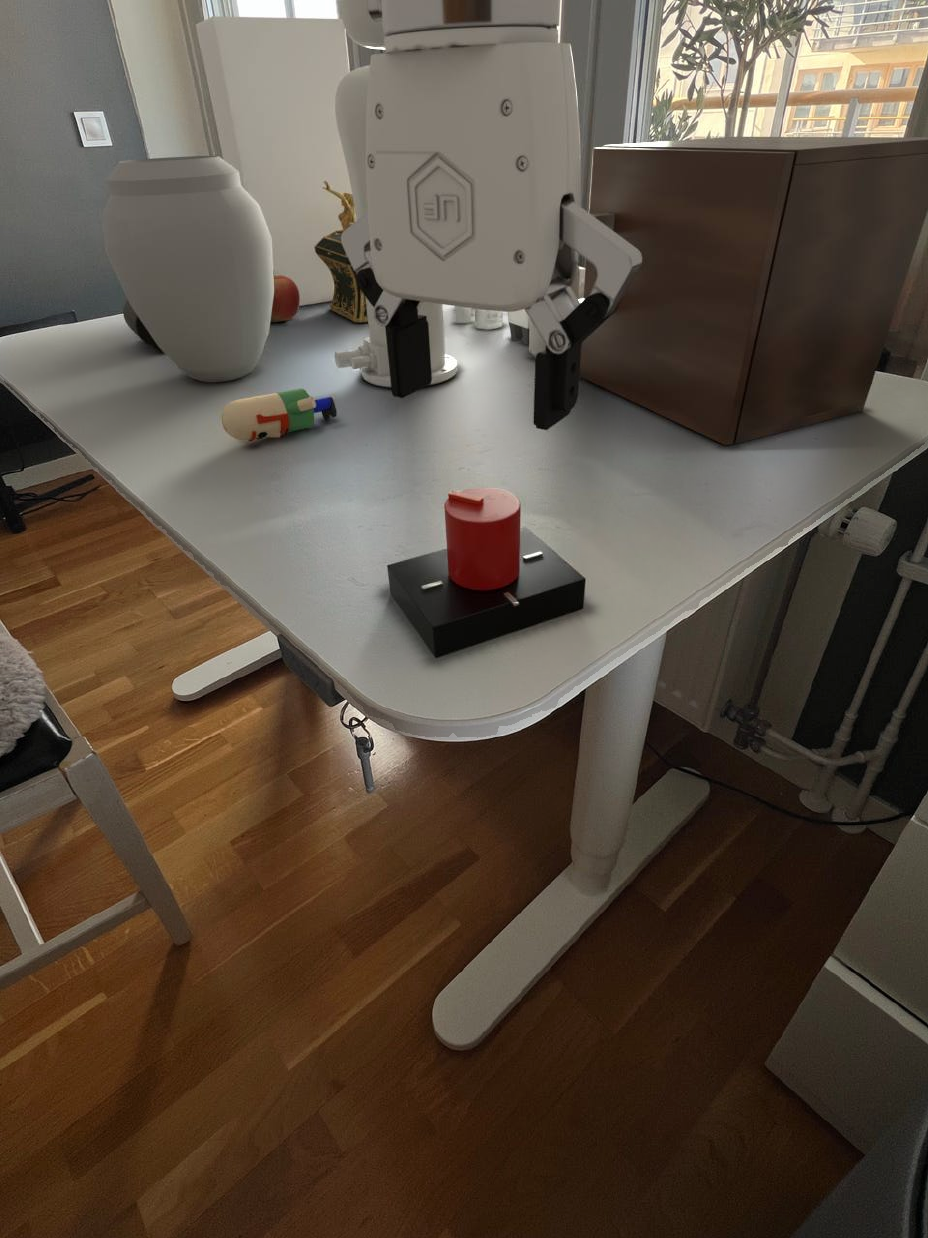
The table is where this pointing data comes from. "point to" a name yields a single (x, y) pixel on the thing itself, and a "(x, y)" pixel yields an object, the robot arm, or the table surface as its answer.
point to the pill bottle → (488, 319)
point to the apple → (284, 299)
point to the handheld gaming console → (463, 314)
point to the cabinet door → (686, 277)
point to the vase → (192, 261)
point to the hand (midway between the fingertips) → (478, 404)
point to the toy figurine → (274, 414)
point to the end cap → (138, 326)
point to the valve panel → (484, 597)
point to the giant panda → (521, 320)
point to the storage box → (283, 130)
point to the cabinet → (828, 272)
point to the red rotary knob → (483, 537)
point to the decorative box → (343, 266)
